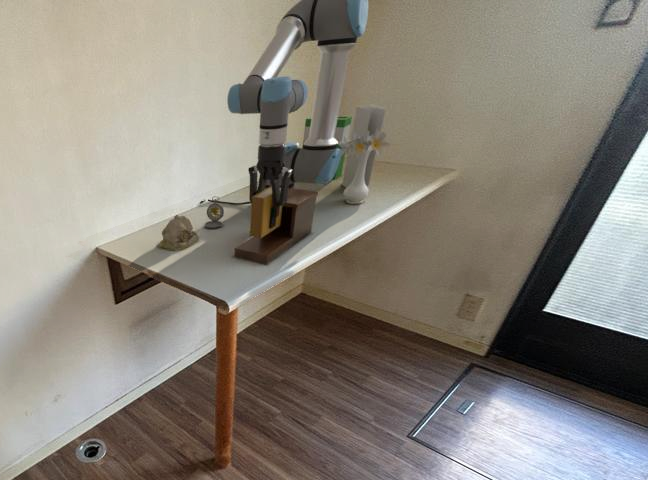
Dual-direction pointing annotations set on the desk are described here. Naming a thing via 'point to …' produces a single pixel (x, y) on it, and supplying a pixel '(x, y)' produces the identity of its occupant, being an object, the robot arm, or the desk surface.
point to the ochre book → (262, 214)
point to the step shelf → (282, 229)
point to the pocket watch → (214, 210)
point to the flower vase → (361, 162)
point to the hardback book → (340, 131)
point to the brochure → (363, 122)
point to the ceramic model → (178, 234)
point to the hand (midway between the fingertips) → (265, 225)
